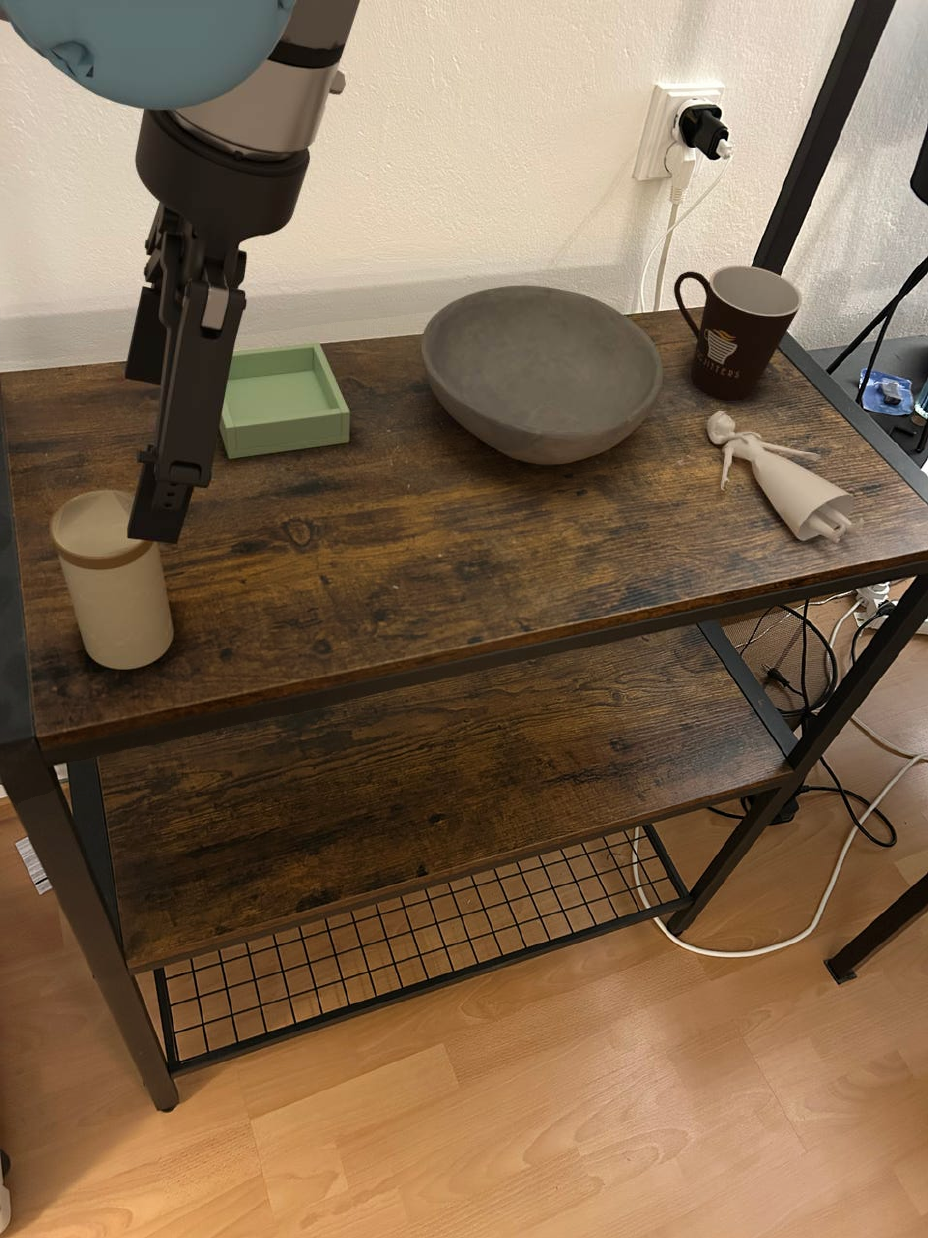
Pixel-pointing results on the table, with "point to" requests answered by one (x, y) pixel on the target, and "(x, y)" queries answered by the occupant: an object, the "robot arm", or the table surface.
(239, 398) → the bin
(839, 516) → the woman figurine
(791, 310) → the coffee mug
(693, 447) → the table surface
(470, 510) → the table surface
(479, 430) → the bowl
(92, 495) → the tea tin
